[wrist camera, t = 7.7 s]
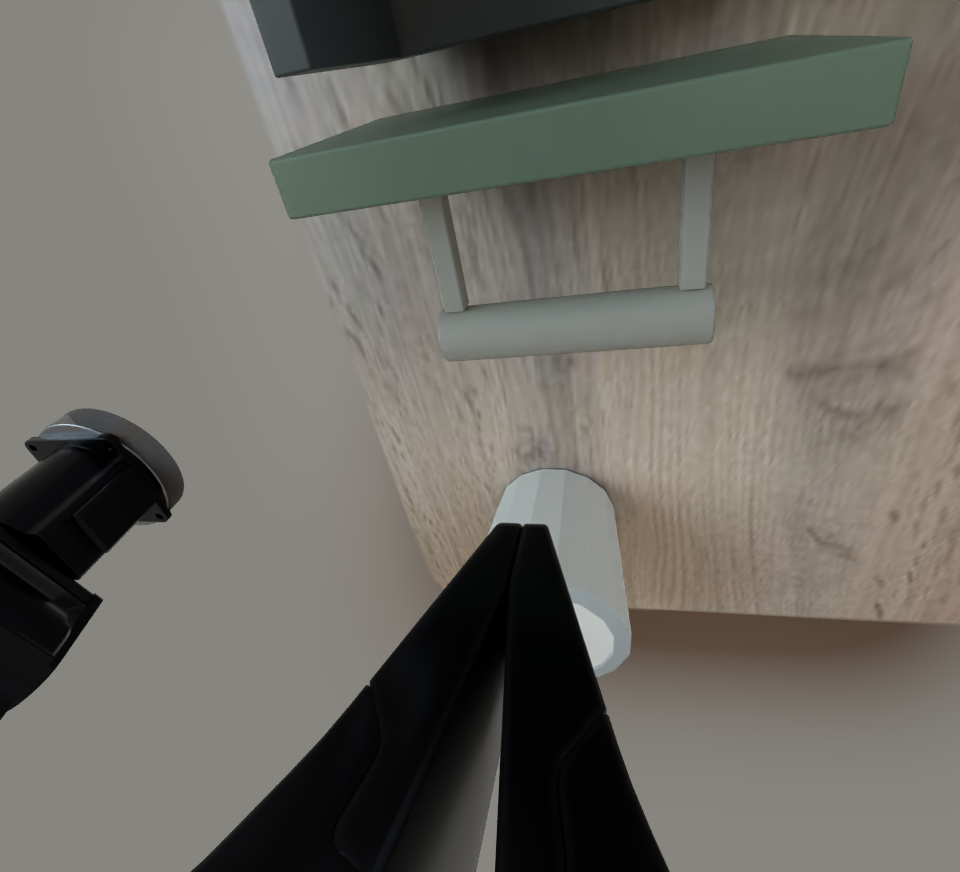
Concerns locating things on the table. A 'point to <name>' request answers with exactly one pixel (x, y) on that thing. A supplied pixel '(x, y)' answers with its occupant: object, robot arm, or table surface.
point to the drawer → (563, 146)
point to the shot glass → (579, 553)
